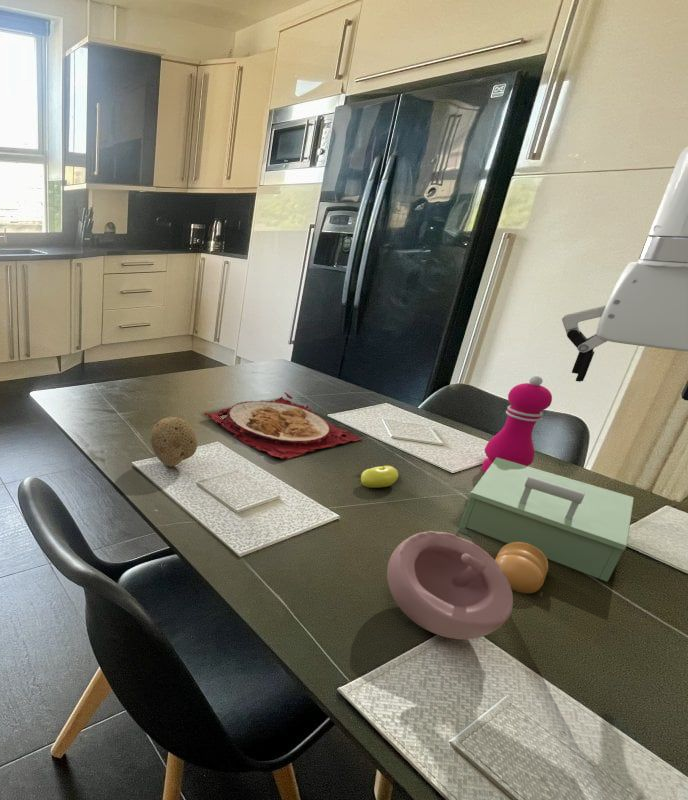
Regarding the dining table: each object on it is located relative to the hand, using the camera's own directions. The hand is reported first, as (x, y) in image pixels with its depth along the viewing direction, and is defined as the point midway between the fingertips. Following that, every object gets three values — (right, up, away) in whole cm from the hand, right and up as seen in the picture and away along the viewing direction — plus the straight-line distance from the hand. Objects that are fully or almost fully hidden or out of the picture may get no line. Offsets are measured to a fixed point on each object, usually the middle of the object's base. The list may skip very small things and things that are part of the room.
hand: (629, 388), depth 64 cm
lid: (-1, -17, +10) cm, 19 cm away
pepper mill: (+9, -16, +31) cm, 36 cm away
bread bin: (-1, -23, +12) cm, 26 cm away
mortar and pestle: (-29, -29, -4) cm, 41 cm away
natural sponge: (-55, -15, +32) cm, 65 cm away
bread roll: (-13, -27, +3) cm, 30 cm away
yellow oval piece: (-18, -18, +26) cm, 36 cm away
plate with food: (-27, -9, +49) cm, 56 cm away
